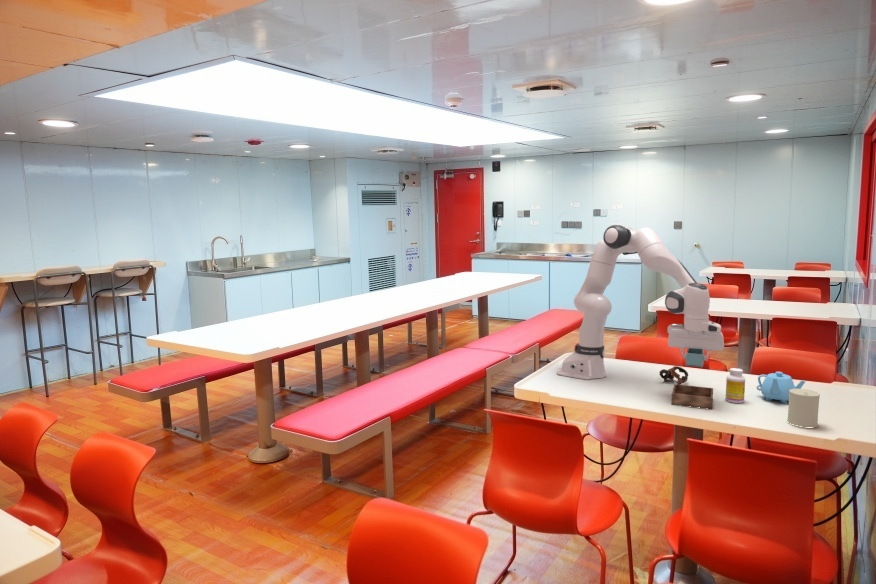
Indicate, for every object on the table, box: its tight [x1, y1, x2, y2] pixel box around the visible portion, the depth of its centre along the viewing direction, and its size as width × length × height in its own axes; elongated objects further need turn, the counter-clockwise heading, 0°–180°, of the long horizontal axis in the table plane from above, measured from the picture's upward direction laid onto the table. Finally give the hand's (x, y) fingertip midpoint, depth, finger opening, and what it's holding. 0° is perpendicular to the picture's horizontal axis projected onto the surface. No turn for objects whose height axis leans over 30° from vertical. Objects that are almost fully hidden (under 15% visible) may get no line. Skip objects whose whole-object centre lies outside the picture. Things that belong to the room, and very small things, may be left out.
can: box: [786, 388, 821, 428], centre depth 202 cm, size 9×9×12 cm
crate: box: [670, 383, 714, 410], centre depth 228 cm, size 14×14×4 cm
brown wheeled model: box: [659, 365, 689, 385], centre depth 255 cm, size 12×10×8 cm
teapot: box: [756, 371, 806, 404], centre depth 229 cm, size 15×14×11 cm
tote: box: [685, 348, 705, 368], centre depth 226 cm, size 10×6×5 cm, turn 154°
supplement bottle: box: [725, 367, 746, 404], centre depth 228 cm, size 7×7×13 cm
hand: (694, 359), depth 226 cm, fingers closed on tote, 6 cm apart
